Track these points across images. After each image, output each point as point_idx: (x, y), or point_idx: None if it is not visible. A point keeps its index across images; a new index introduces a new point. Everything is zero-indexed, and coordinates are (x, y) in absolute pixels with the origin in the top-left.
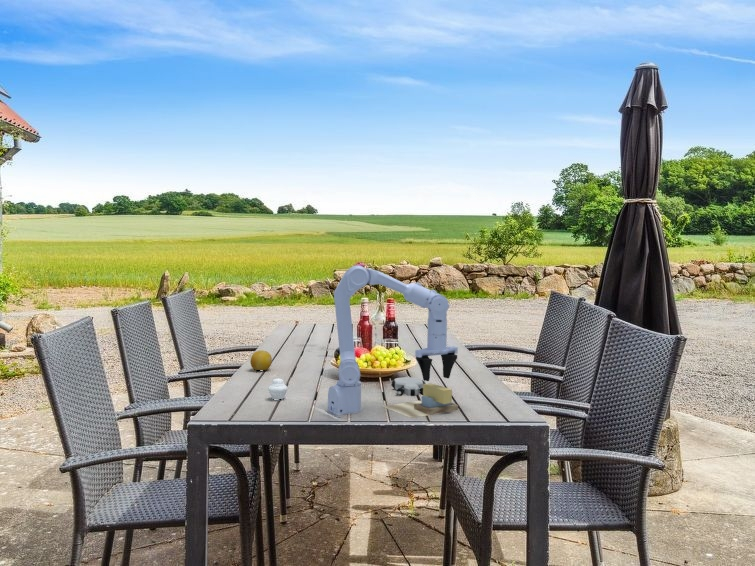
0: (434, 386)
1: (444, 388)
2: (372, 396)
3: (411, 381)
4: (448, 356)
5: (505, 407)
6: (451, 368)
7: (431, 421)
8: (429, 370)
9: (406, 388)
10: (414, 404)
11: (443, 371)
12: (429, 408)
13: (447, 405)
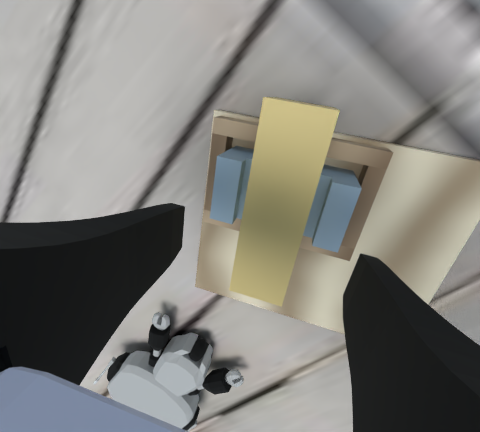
0: (281, 233)
1: (279, 153)
2: (278, 417)
3: (147, 394)
4: (22, 327)
5: (22, 46)
6: (113, 217)
7: (431, 97)
8: (401, 303)
9: (203, 376)
10: (350, 258)
11: (159, 272)
12: (372, 166)
13: (250, 152)
